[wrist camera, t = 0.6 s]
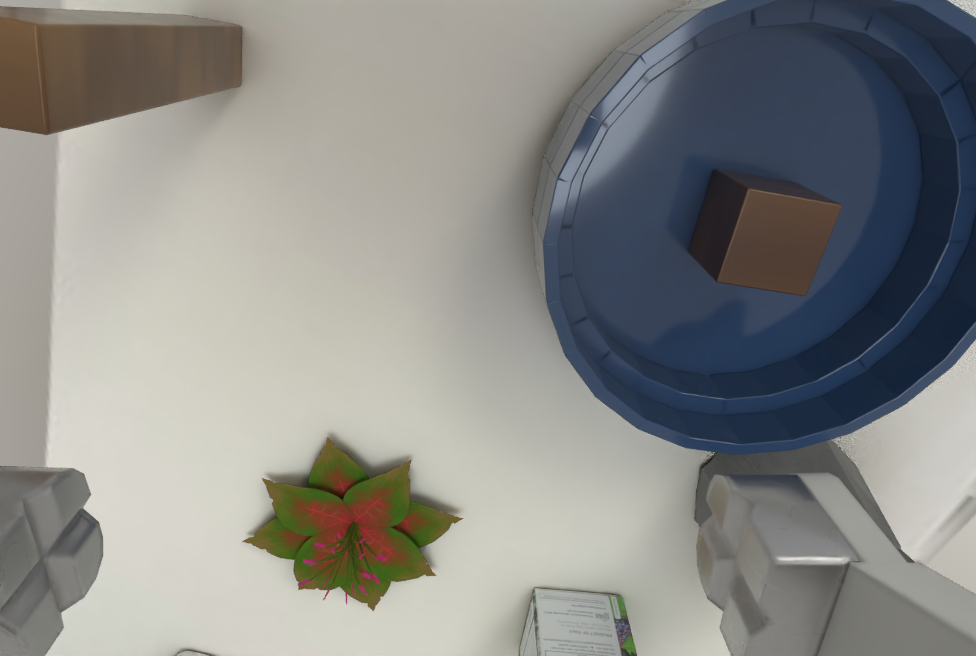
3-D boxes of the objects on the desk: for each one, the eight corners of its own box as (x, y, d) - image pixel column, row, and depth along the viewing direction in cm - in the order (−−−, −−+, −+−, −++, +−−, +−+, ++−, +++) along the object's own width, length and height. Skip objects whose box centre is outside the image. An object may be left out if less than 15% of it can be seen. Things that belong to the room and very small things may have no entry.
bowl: (585, -59, 26) (613, -80, 21) (1026, 33, 28) (1148, 33, 23) (498, 365, 34) (503, 423, 29) (846, 415, 35) (908, 478, 30)
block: (713, 167, 29) (748, 188, 26) (798, 183, 30) (844, 204, 26) (686, 252, 31) (715, 282, 27) (767, 266, 31) (806, 297, 28)
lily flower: (381, 626, 41) (371, 693, 37) (210, 538, 38) (178, 600, 34) (500, 506, 38) (504, 565, 33) (321, 396, 34) (300, 447, 30)
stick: (183, 14, 27) (-81, 2, 14) (243, 25, 27) (37, 23, 14) (183, 76, 28) (-62, 118, 15) (241, 86, 28) (48, 136, 15)
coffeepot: (760, 367, 34) (1026, 680, 18) (908, 421, 36) (1278, 753, 19) (628, 575, 40) (737, 955, 24) (761, 613, 42) (948, 993, 25)
